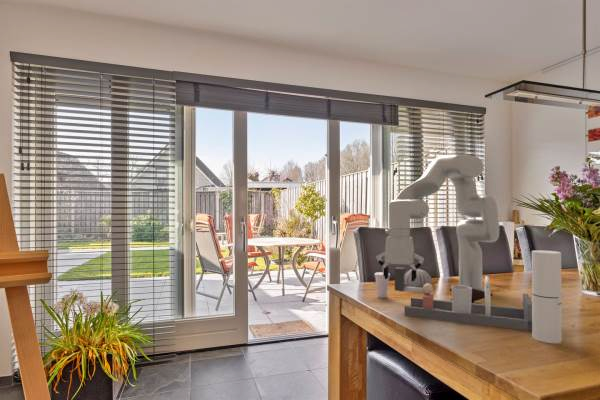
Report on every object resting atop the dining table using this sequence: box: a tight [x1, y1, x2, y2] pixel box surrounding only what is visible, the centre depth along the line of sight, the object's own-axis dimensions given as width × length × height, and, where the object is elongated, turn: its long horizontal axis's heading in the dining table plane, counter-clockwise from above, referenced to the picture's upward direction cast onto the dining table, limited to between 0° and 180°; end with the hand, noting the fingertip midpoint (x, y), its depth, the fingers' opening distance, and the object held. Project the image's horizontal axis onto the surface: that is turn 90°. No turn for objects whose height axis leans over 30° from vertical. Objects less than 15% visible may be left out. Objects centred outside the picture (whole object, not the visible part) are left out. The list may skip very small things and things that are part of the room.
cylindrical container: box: [531, 249, 563, 344], centre depth 108 cm, size 7×7×25 cm
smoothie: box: [374, 271, 391, 299], centre depth 157 cm, size 6×6×14 cm
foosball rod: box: [394, 267, 434, 309], centre depth 137 cm, size 9×13×14 cm
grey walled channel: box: [404, 275, 532, 332], centre depth 129 cm, size 15×38×13 cm, turn 65°
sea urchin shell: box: [405, 268, 433, 288], centre depth 178 cm, size 13×14×8 cm
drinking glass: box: [450, 284, 472, 313], centre depth 130 cm, size 7×7×10 cm
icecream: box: [449, 286, 493, 303], centre depth 147 cm, size 7×8×15 cm
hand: (399, 279), depth 139 cm, fingers open, 9 cm apart
